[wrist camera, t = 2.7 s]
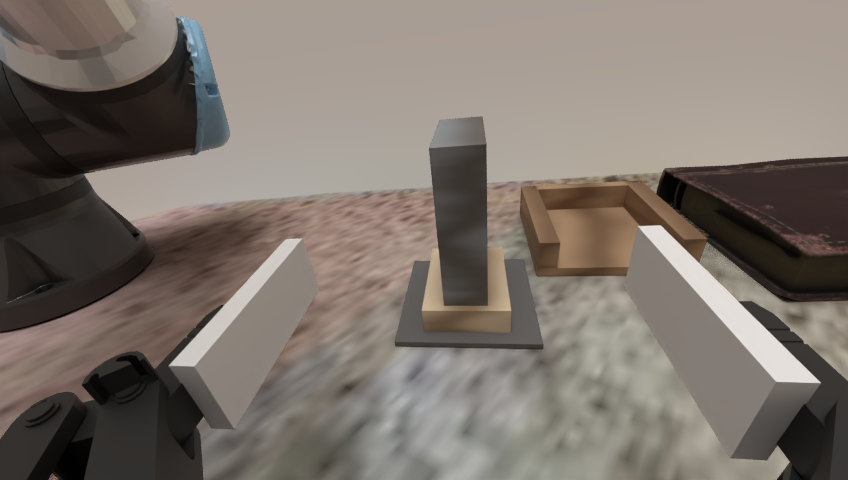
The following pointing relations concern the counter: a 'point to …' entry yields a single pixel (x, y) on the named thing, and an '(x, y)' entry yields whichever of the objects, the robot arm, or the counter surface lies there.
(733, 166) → the diary
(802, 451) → the robot arm
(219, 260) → the counter surface
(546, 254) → the tray
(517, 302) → the mat
